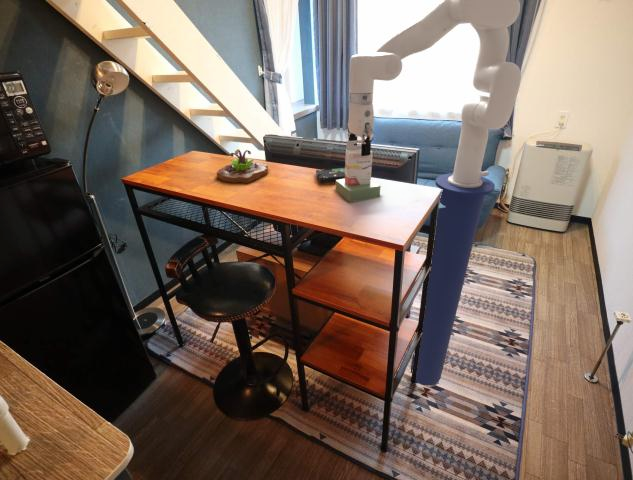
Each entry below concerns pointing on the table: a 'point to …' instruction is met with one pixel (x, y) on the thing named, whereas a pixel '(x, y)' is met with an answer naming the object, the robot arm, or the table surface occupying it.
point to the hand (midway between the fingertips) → (358, 151)
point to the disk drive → (330, 175)
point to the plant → (242, 170)
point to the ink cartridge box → (357, 165)
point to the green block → (357, 190)
